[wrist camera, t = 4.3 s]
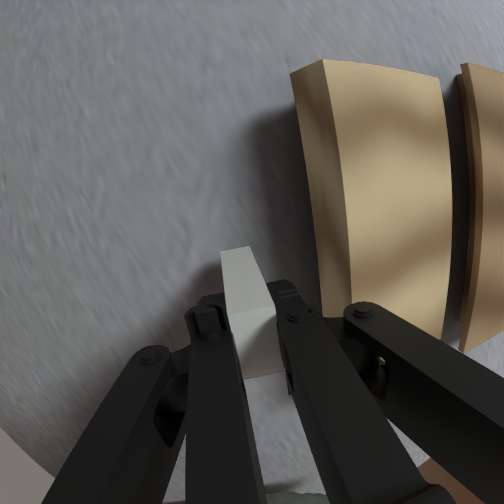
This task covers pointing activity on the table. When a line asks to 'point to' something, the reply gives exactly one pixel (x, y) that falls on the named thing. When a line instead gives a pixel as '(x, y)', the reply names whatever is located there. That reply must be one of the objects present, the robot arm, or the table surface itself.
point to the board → (483, 204)
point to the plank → (378, 187)
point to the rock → (296, 498)
